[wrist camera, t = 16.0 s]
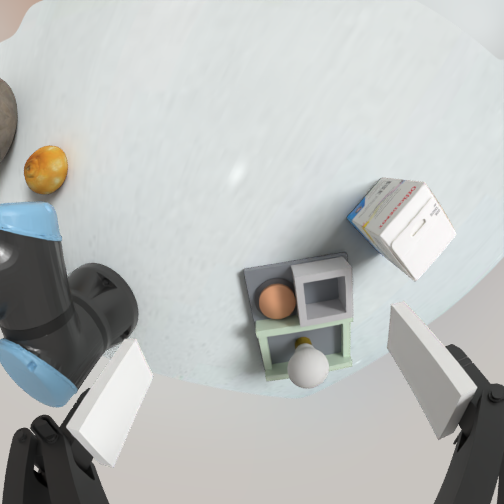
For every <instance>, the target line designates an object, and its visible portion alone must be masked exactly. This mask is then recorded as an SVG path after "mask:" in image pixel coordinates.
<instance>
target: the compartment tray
mask: <svg viewBox="0 0 504 504" xmlns="http://www.w3.org/2000/svg"><path fill="white" fill-rule="evenodd" d="M244 275H245V280H246V285H247V290H248V294H249V299H250V304H251V309H252V314H253V318H254V323H255V328H256V336H257V338H258V342H259V347H260V351H261V356H262V361H263V365H264V370H265V377H266V381H274V380H281V379H289V376H288V371H287V367H288V363H289V360H290V358H291V357H292V356H293V355H294V353H295V341H296V340H297V339H298V338H300V337H307V338H309V339H310V340H311V343H312V346H313V347H314V348H315V349H317V350H319V351H321V352H322V353H323V354H324V355H325V356H326V358H327V360H328V363H329V371H334V370H339V369H343V368H348V367H352V359H351V357H350V333H351V322H353V281H352V267H351V266H350V264H349V263H348V260H347V254H346V253H345V252H342V253H336V254H330V255H324V256H318V257H312V258H306V259H300V260H294V261H288V262H282V263H276V264H270V265H264V266H257V267H251V268H245V269H244ZM272 284H283V285H286V286H288V287H289V288H290V289H291V290H292V291H293V293H294V296H295V300H296V305H295V308H294V310H293V312H292V313H291V314H290V315H289V316H287V317H285V318H282V319H271V318H269V317H267V316H265V315H264V314H263V313H262V311H261V310H260V307H259V297H260V294H261V292H262V291H263V290H264V289H265V288H266V287H267V286H269V285H272Z"/></svg>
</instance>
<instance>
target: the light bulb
mask: <svg viewBox="0 0 504 504" xmlns="http://www.w3.org/2000/svg"><path fill="white" fill-rule="evenodd" d="M287 371H288V376H289V378H290V380H291V381H292V382H293V383H294V384H295V385H297V386H299V387H301V388H314V387H316V386H318V385H320V384H321V383H322V382H323V381H324V380H325V379H326V377H327V375H328V372H329V363H328V360H327V358H326V356H325V355H324V354H323V353H322V352H321V351H319V350H317V349H315V348H314V347H313V346H312V343H311V340H310V339H309V338H307V337H300V338H298V339H297V340H296V341H295V353H294V355H293V356H292V357H291V358H290V360H289V363H288V367H287Z"/></svg>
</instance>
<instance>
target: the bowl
mask: <svg viewBox="0 0 504 504" xmlns="http://www.w3.org/2000/svg"><path fill="white" fill-rule="evenodd" d="M16 126H17V104H16V100H15V97H14V94H13V92H12V90H11V88H10V87H9V85H8V84H7V83H6V82H5V81H3V80H2V79H1V78H0V163H1V161H2V160H3V159H4V157H5V156H6V154H7V152H8V150H9V148H10V146H11V143H12V141H13V138H14V134H15V131H16Z"/></svg>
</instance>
